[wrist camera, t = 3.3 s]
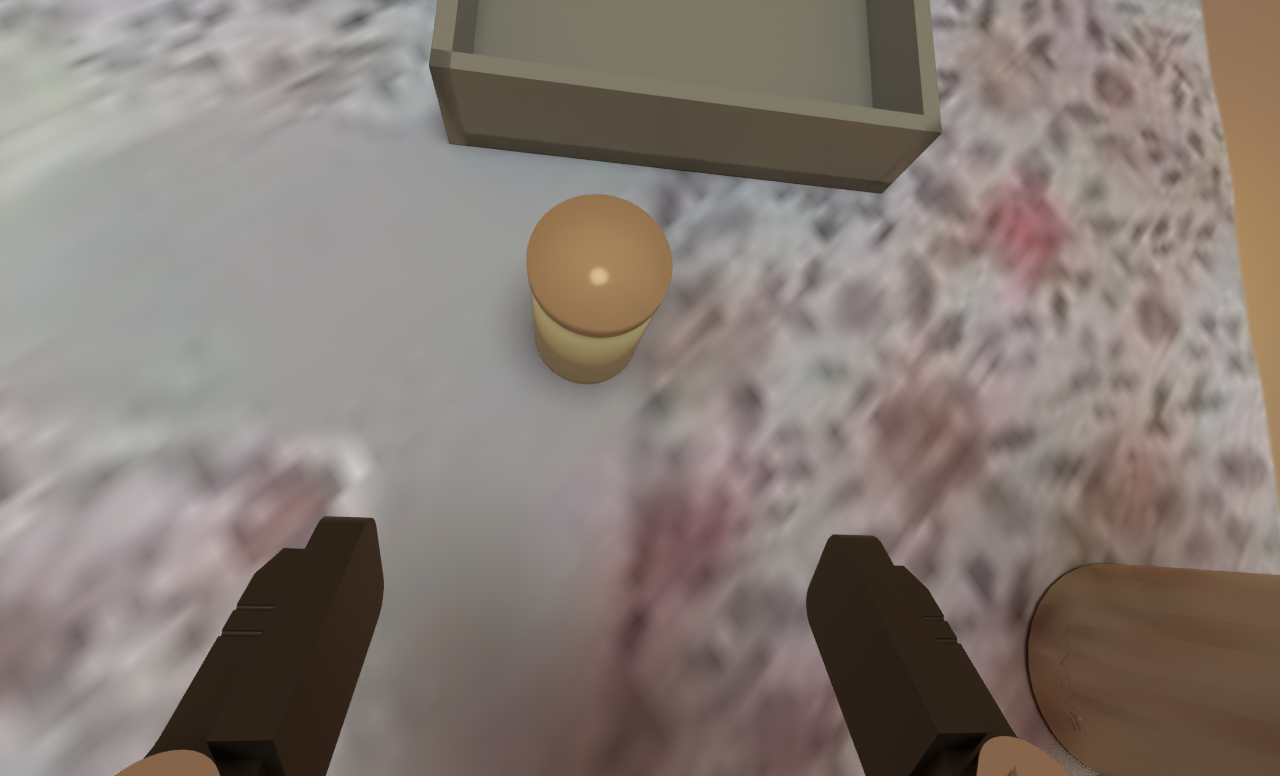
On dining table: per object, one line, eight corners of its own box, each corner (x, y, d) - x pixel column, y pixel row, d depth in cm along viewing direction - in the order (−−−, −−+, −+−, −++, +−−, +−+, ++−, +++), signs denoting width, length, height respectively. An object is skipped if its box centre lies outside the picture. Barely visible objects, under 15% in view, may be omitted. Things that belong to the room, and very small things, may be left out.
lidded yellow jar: (640, 290, 28) (673, 202, 21) (636, 389, 27) (671, 335, 20) (537, 281, 28) (532, 187, 20) (529, 382, 27) (521, 323, 19)
